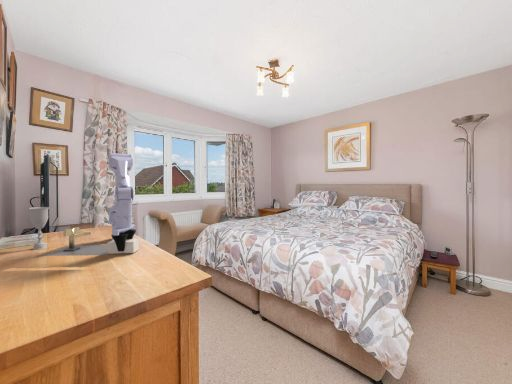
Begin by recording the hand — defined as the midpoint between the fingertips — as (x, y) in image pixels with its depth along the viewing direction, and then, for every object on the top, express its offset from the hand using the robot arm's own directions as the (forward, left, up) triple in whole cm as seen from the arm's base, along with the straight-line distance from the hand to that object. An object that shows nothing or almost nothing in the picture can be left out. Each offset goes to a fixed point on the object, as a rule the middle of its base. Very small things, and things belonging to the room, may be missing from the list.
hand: (124, 249), depth 95 cm
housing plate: (-4, -17, -2) cm, 18 cm away
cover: (0, 0, -1) cm, 1 cm away
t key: (-7, -22, 0) cm, 24 cm away
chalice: (-11, -41, -2) cm, 43 cm away
